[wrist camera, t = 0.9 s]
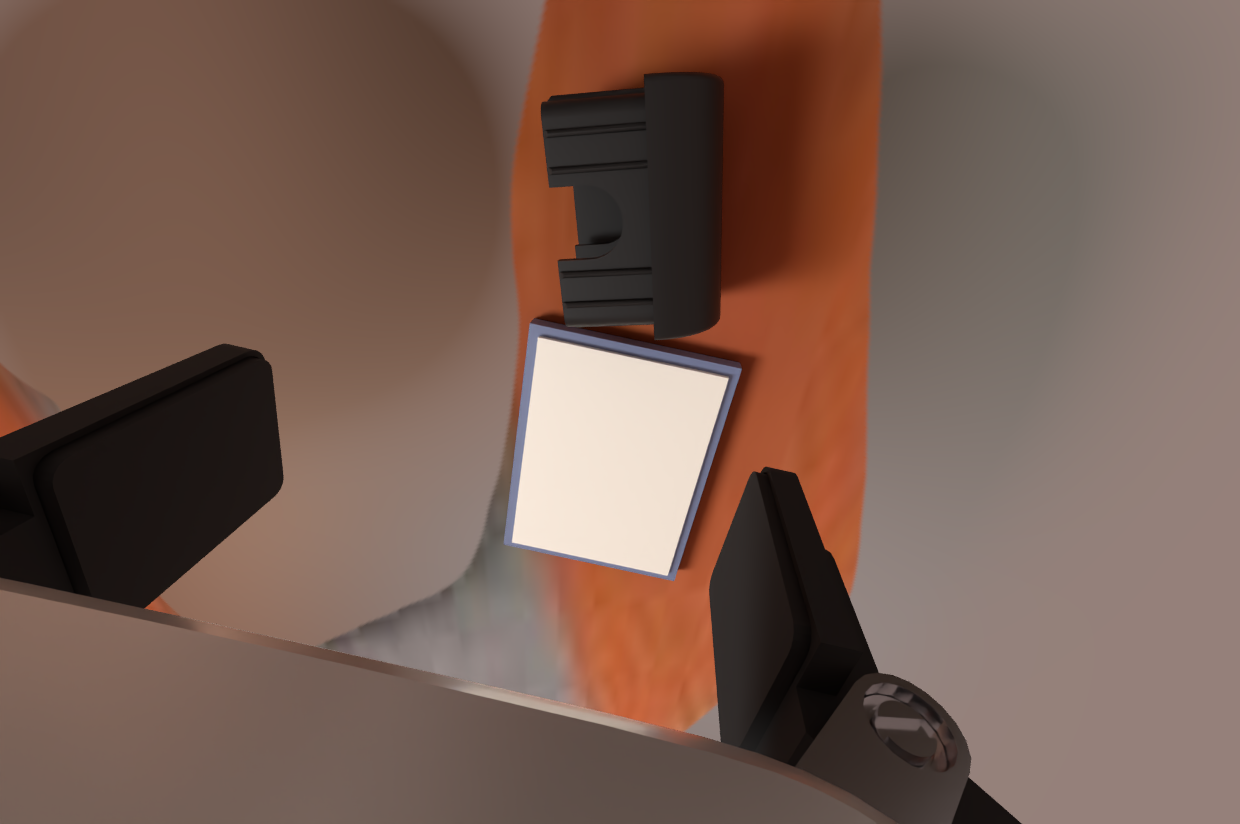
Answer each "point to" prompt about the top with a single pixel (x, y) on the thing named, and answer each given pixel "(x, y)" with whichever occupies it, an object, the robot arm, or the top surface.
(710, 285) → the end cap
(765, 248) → the top surface
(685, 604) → the top surface
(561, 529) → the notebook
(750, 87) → the top surface
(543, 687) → the top surface
